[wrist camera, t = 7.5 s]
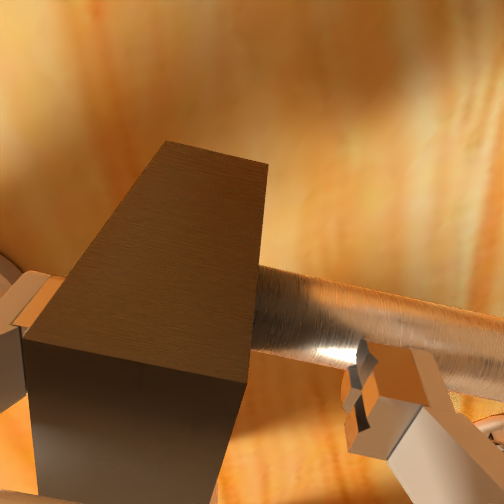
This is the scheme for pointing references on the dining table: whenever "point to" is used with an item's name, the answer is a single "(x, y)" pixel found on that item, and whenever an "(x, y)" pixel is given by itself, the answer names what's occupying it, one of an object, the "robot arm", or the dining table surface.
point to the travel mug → (7, 275)
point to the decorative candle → (493, 429)
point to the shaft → (200, 336)
